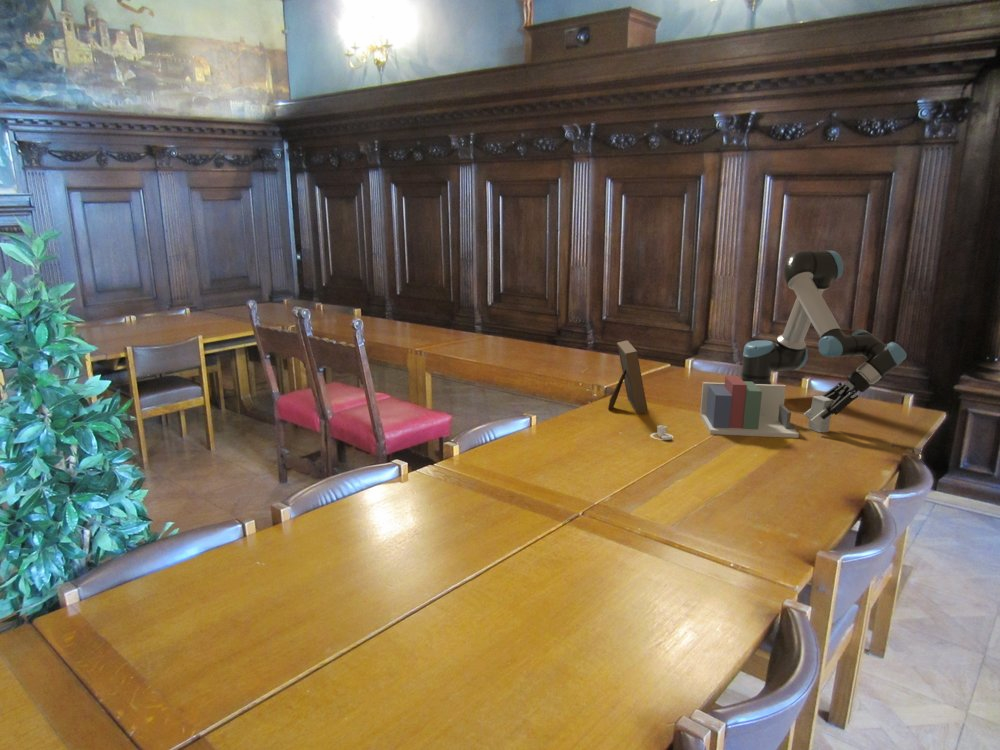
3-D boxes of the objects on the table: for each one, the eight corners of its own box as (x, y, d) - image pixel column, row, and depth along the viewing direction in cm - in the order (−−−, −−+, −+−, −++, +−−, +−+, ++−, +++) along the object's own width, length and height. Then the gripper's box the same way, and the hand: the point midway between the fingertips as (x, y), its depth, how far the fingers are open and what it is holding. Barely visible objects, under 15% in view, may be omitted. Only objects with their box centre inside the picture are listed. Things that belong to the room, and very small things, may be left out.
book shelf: (700, 416, 258) (703, 372, 254) (780, 419, 255) (785, 374, 250) (710, 434, 237) (714, 386, 233) (798, 437, 234) (804, 389, 230)
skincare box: (807, 428, 245) (811, 396, 242) (817, 426, 246) (821, 395, 243) (819, 433, 239) (823, 400, 236) (830, 432, 240) (834, 399, 237)
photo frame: (637, 398, 281) (641, 340, 275) (647, 414, 260) (651, 351, 254) (602, 398, 282) (605, 340, 276) (609, 413, 261) (612, 350, 255)
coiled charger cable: (673, 443, 229) (674, 431, 228) (650, 441, 231) (650, 430, 230) (672, 434, 238) (673, 423, 237) (649, 433, 239) (650, 422, 238)
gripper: (882, 392, 227) (826, 436, 233) (858, 378, 246) (807, 418, 252) (867, 377, 226) (811, 420, 232) (845, 364, 245) (794, 404, 251)
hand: (809, 419), depth 242 cm, fingers closed on skincare box, 7 cm apart
